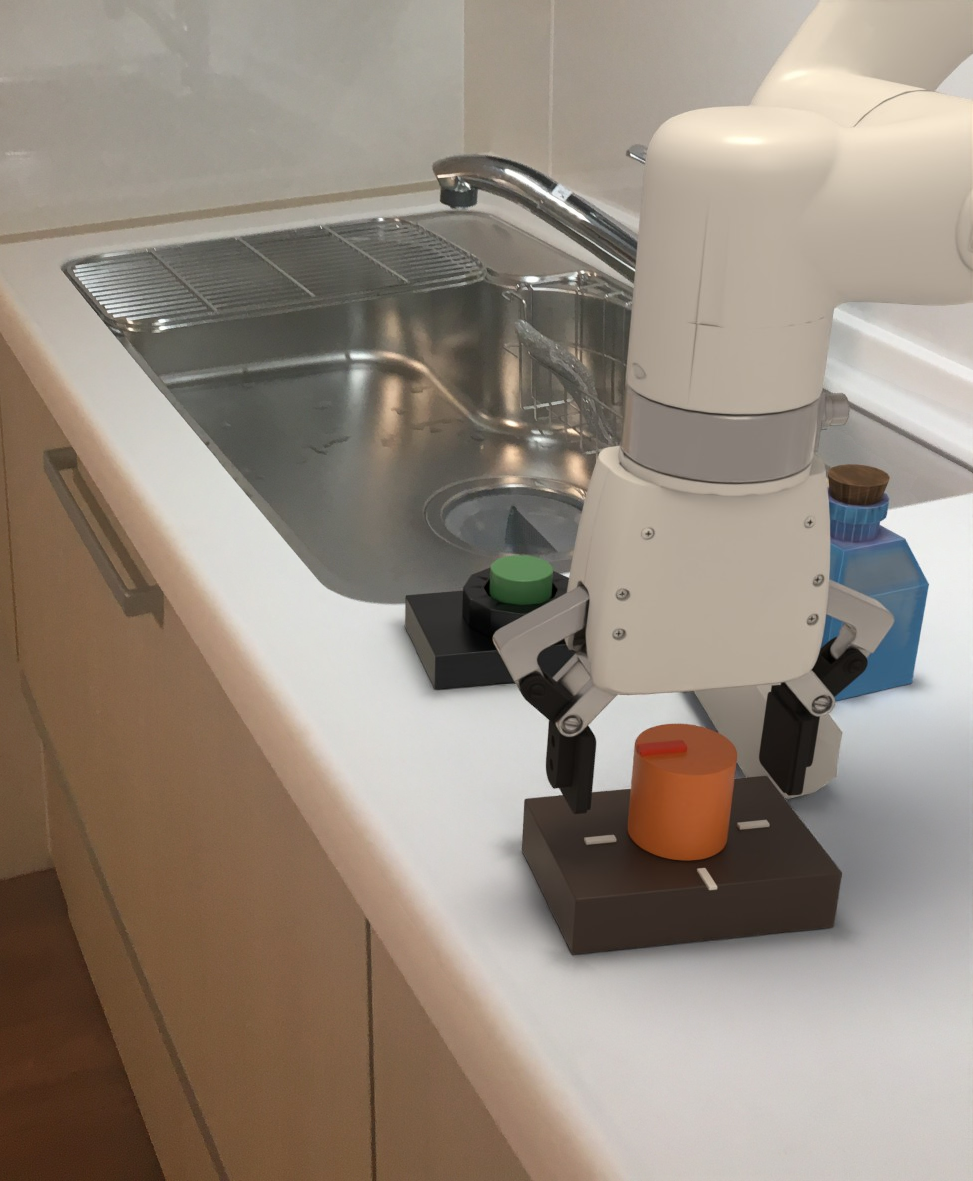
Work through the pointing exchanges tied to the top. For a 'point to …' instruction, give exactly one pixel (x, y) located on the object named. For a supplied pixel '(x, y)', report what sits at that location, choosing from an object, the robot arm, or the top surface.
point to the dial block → (678, 874)
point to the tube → (743, 726)
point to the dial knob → (681, 791)
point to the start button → (521, 580)
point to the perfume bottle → (874, 574)
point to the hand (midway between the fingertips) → (676, 788)
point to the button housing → (472, 633)
